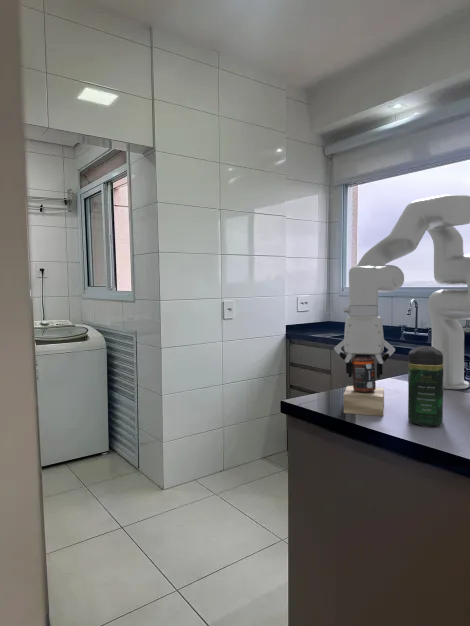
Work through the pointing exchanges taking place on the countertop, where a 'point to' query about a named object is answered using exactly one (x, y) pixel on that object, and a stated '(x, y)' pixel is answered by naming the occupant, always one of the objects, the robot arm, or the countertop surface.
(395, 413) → the countertop surface
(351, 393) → the beech block
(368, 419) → the countertop surface
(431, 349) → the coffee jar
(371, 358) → the supplement bottle
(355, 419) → the countertop surface
